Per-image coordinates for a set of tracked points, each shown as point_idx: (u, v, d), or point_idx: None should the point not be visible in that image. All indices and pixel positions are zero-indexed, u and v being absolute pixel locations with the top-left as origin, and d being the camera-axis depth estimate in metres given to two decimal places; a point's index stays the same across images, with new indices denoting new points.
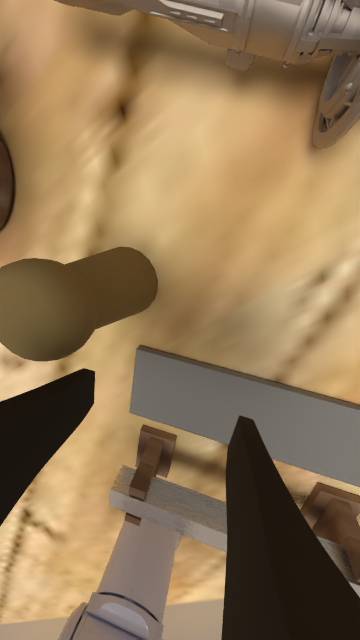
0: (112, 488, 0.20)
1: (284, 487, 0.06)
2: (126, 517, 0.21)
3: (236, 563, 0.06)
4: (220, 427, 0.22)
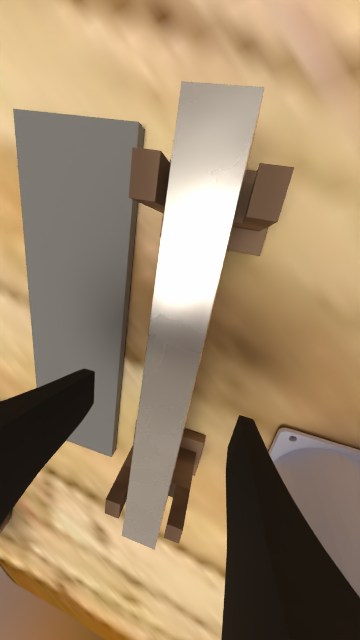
0: (122, 532, 0.15)
1: (284, 487, 0.06)
2: (170, 538, 0.14)
3: (236, 563, 0.06)
4: (97, 368, 0.18)
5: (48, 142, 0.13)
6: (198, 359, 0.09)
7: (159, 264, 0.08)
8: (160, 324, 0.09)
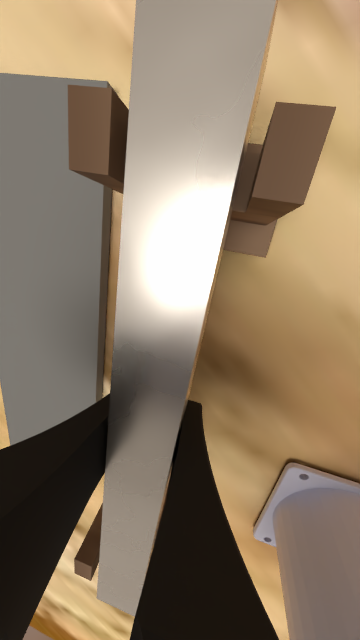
0: None
1: (206, 460, 0.07)
2: None
3: None
4: (71, 390, 0.15)
5: None
6: (182, 406, 0.07)
7: (120, 272, 0.06)
8: (127, 357, 0.06)
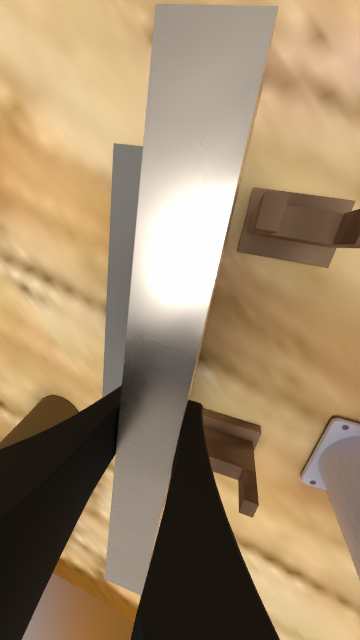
0: None
1: (206, 460, 0.07)
2: (244, 513, 0.16)
3: None
4: None
5: None
6: (187, 390, 0.07)
7: (134, 269, 0.06)
8: (139, 346, 0.07)
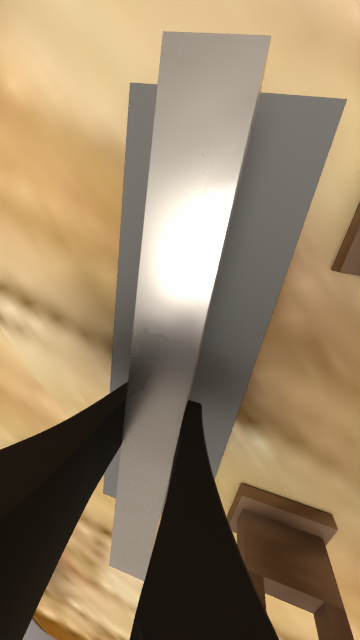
0: (110, 561, 0.14)
1: (206, 460, 0.07)
2: None
3: None
4: None
5: None
6: (190, 380, 0.08)
7: (141, 268, 0.07)
8: (145, 339, 0.08)
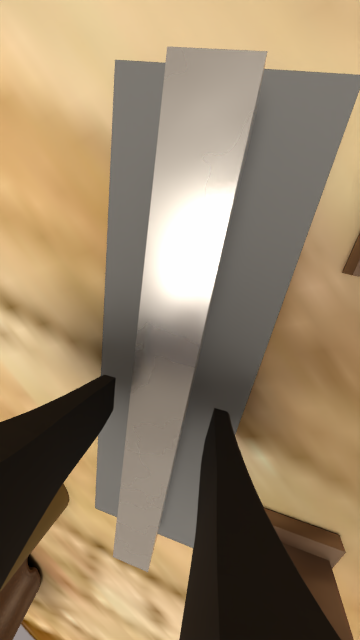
0: None
1: (246, 474, 0.06)
2: None
3: (198, 548, 0.06)
4: (194, 447, 0.13)
5: None
6: (192, 373, 0.08)
7: (146, 266, 0.07)
8: (148, 334, 0.08)
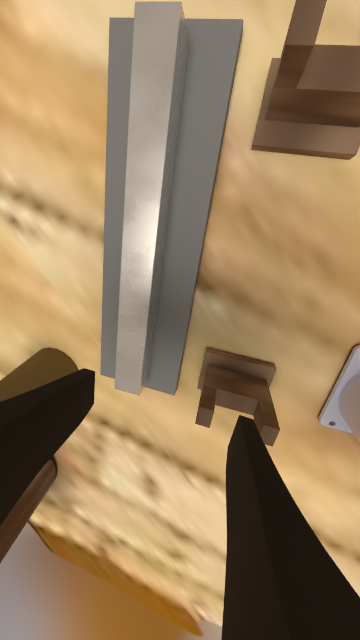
0: (115, 386, 0.20)
1: (284, 487, 0.06)
2: None
3: (236, 563, 0.06)
4: (169, 298, 0.18)
5: None
6: (158, 206, 0.14)
7: (129, 133, 0.13)
8: (132, 181, 0.14)
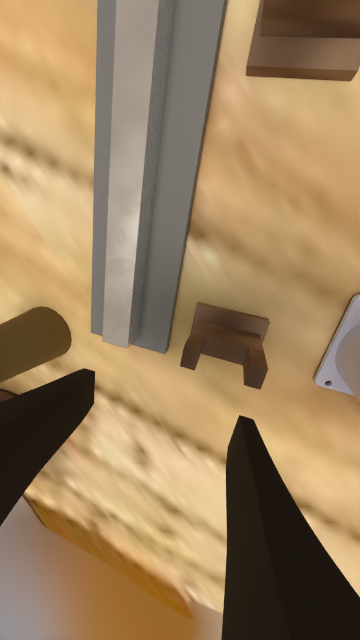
0: (103, 339, 0.19)
1: (284, 487, 0.06)
2: (251, 385, 0.13)
3: (236, 563, 0.06)
4: (160, 245, 0.17)
5: None
6: (146, 131, 0.13)
7: (115, 48, 0.12)
8: (119, 105, 0.13)
